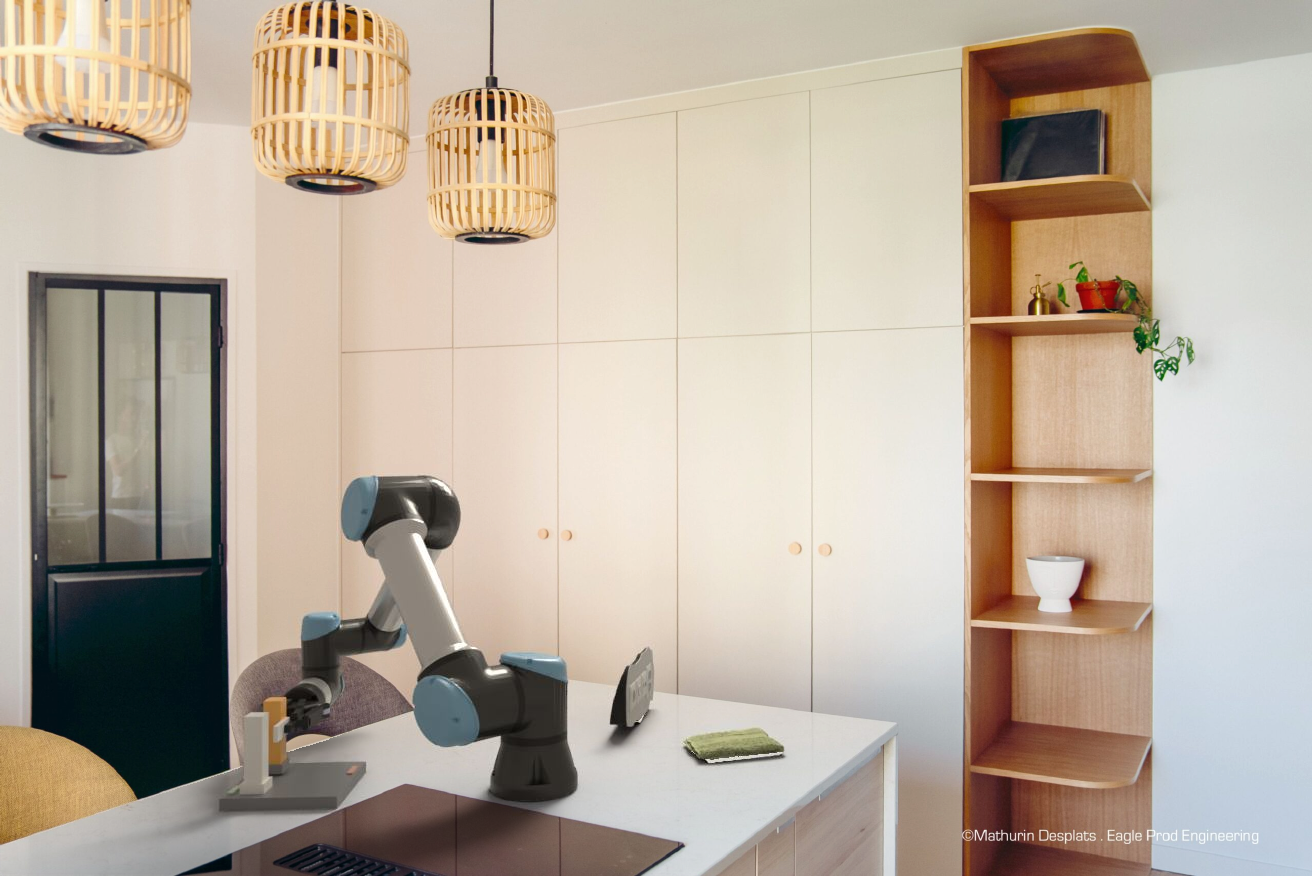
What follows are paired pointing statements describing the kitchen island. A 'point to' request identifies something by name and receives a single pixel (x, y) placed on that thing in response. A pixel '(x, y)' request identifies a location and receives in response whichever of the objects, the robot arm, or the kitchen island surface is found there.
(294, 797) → the grey base with post
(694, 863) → the kitchen island surface
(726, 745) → the washcloth
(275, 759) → the breaker handle
